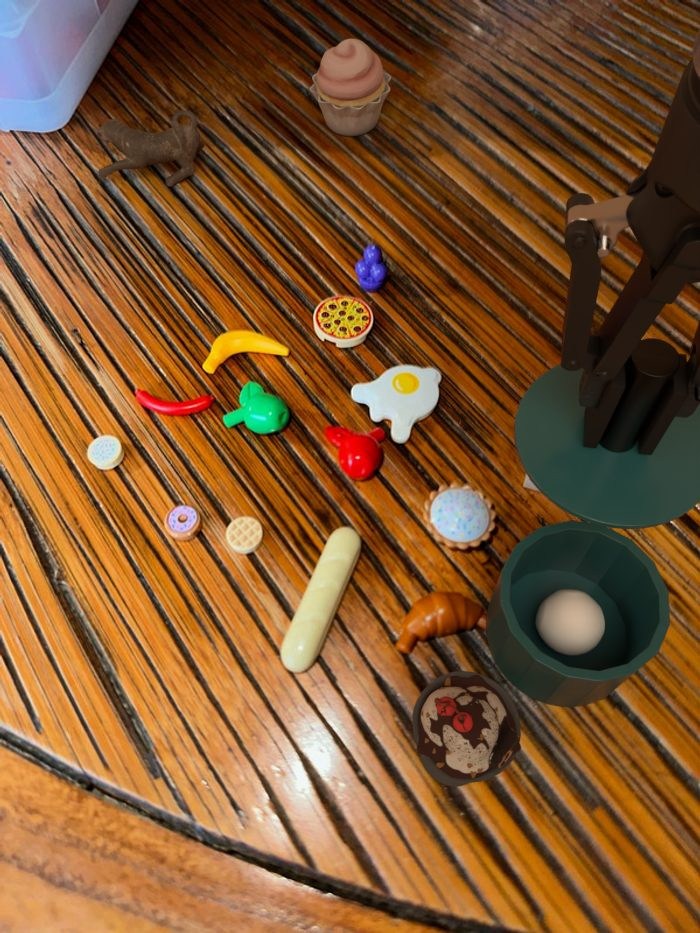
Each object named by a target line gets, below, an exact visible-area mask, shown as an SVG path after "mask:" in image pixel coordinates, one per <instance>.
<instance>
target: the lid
mask: <svg viewBox="0 0 700 933" xmlns="http://www.w3.org/2000/svg"><path fill="white" fill-rule="evenodd" d="M679 354H680V353H679V352H678V349H677V348H675V346H674V345H673V344H671V343H670V342H668V341H666V340H664V339H661V338H655V337H647V338H642V339H641V341H640V342H639V344H638V345H637V346H636V348H635V349H634V351H633V352H632V354H631V355H630V356H629V358H628V359H627V361H626V362H625V389H624V392H623V394H622V396H621V398H620V400H619V402H618V404H617V406H616V408H615V410H614V412H613V414H612V417H611V419H610V421H609V423H608V425H607V427H606V429H605V431H604V433H603V435H602V437H601V439H600V442H599V444H598V446H597V448H588V447H584V415H585V409H586V407H583V406H580V403H579V381H580V379H581V376H582V373H583V371H584V369H583V368H581V369H580V370H577V371H568V370H565V369H563V368H562V367H561V363H559V364H557V365H555V366H553V367H551V368H550V369H548V370H546V371H545V372H544V373H542V374H541V375H540V376H538V377H537V378H536V379H535V380H534V381H533V382H532V383H531V385H529V387H528V388H527V390H526V391H525V392H524V394H523V396H522V397H521V400H520V401H519V404H518V407H517V410H516V413H515V418H514V424H513V425H514V426H513V440H514V446H515V447H514V448H515V451H516V455H517V458H518V460H519V463H520V465H521V467H522V470H523V471H524V473H525V474H526V477H528V479H529V481H530V482H531V483H532V484H533V485H534V487H535V488H536V489H537V491H538V492H540V493H541V494H542V495H543V496H544V497H545V498H546V499H547V500H548V501H549V502H551V503H552V504H553V505H555V506H556V507H557V508H558V509H560V510H562V511H563V512H566V513H567V514H569V515H571V516H572V517H574V518H577V519H580V520H581V521H583V522H588V523H593V524H596V525H599V526H604V527H608V528H610V529H617V530H642V529H648V528H649V529H650V528H654V527H658V526H662V525H666V524H668V523H671V522H673V521H675V520H677V519H679V518H681V517H682V516H684V515H686V514H687V513H688V512H690V511H692V510H693V508H695V507H696V506H697V505H698V504H699V503H700V404H699V405H698V407H697V408H696V410H695V412H694V413H693V414H692V415H690V416H689V417H687V418H683V417H675V418H674V419H673V421H672V423H671V424H670V426H669V428H668V429H667V431H666V432H665V434H664V436H663V437H662V439H661V441H660V442H659V444H658V445H657V447H656V449H655V450H654V452H653V454H652V455H646V454H639V437H640V436H641V434H642V432H643V430H644V429H645V427H646V425H647V423H648V421H649V420H650V418H651V416H652V414H653V413H654V411H655V409H656V407H657V405H658V404H659V402H660V400H661V398H662V397H663V395H664V393H665V391H666V389H667V388H668V386H669V384H670V382H671V381H672V379H673V377H674V375H675V373H676V372H677V370H678V368H679V366H680V356H679Z"/></svg>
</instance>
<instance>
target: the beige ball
mask: <svg viewBox="0 0 700 933" xmlns="http://www.w3.org/2000/svg"><path fill="white" fill-rule="evenodd" d="M536 628H537V630H538V633H539V635H540V637H541V638H542V640H543V641H544V642H545V644H546V645H547V646H548V647H550V648H551V649H552V650H554V651H556V652H558V653H560V654H563V655H568V656H577V655H582V654H585V653H587V652H589V651H590V650H592V649H593V648H594V647H595V646H596V645H597V644H598V643H599V642H600V640H601V638H602V636H603V634H604V630H605V620H604V615H603V612H602V610H601V608H600V606H599V605H598V604H597V602H596V601H595V600H594V599H593V598H591V597H590V596H589V595H588V594H587V593H585V592H583V591H579V590H574V589H562V590H558V591H556V592H554V593H553V594H551V595H550V596H549V597H547V598H546V599H545V600H544V601H543V602H542V604H541V605H540V607H539V609H538V612H537V615H536Z"/></svg>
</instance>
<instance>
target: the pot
mask: <svg viewBox="0 0 700 933" xmlns="http://www.w3.org/2000/svg"><path fill="white" fill-rule="evenodd" d="M562 589H574V590H579V591H583V592H585V593H587V594H588V595H589V596H590V597H591V598H593V599H594V600H595V601H596V602H597V604H598V605H599V606H600V608H601V610H602V612H603V615H604V620H605V630H604V634H603V636H602V638H601V640H600V642H599V643H598V644H597V645H596V646H595V647H594V648H593V649H592V650H590V651H589V652H587V653H585V654H582V655H577V656H568V655H563V654H560V653H558V652H556V651H554V650H552V649H551V648H550V647H548V646H547V645H546V644H545V642H544V641H543V640H542V638H541V637H540V635H539V633H538V630H537V628H536V615H537V612H538V609H539V607H540V605H541V604H542V602H543V601H544V600H545V599H546V598H547V597H549V596H550V595H551V594H553V593H554V592H556V591H558V590H562ZM669 593H670V592H669V589H668V588H667V586H666V583H665V581H664V579H663V576H662V575H661V573H660V571H659V568H658V567H657V565H656V563H655V561H654V560H653V559H652V558H651V556H649V555H648V554H647V553H646V552H645V551H644V550H643V549H642V548H641V547H640V546H639V545H638V544H637V543H636V542H635V541H634V540H633V539H632V538H630V537H628V536H626V535H625V534H622V533H620V532H618V531H616V530H614V529H613V528H610V527H604V526H599V525H596V524H593V523H590V522H586V521H580V520H571V519H569V520H564V521H560V522H556V523H552V524H548V525H544V526H540V527H538V528H536V529H535V530H533V531H532V532H531V533H530V534H528V535H527V536H525V537H524V538H523V539H522V540H520V541H519V542H517V543H516V544H515V545H514V547H513V548H512V550H511V552H510V554H509V555H508V558H507V560H506V562H505V564H504V565H503V567H502V569H501V571H500V575H499V576H498V580H497V581H496V585H495V587H494V590H493V592H492V595H491V598H490V601H489V602H488V605H487V614H486V620H485V634H486V635H485V636H486V642H487V646H488V649H489V652H490V654H491V656H492V659H493V661H494V663H495V664H496V667H497V668H498V669H499V671H500V672H501V673H502V675H503V676H504V677H505V679H506V680H507V681H508V682H509V683H510V684H511V685H512V686H514V688H516V689H517V690H518V691H519V692H521V693H522V694H524V695H526V696H527V697H529V698H531V699H533V700H535V701H537V702H540V703H543V704H545V705H546V704H547V705H550V706H555V707H563V708H576V707H583V706H587V705H591V704H593V703H597V702H600V701H602V700H605V699H606V698H607V697H608V696H610V695H611V694H612V693H613V692H614V691H615V690H616V689H617V688H619V687H620V686H621V685H622V684H624V683H625V682H626V681H627V680H629V679H630V678H631V677H632V676H633V675H634V674H635V673H637V672H638V671H639V670H640V669H641V668H642V667H643V666H645V665H646V664H647V663H649V662H650V661H651V660H652V659H653V658H654V657H655V656H657V655H658V654H659V652H660V650H661V647H662V645H663V643H664V640H665V638H666V635H667V633H668V631H669V628H670V626H671V615H670V613H671V612H670V594H669Z"/></svg>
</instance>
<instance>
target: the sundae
mask: <svg viewBox="0 0 700 933" xmlns="http://www.w3.org/2000/svg"><path fill="white" fill-rule="evenodd" d="M411 718H412V732H413V738H414V740H415V744H416V750H417V753H418V754H419V758H420V761H421V764H422V766H423V768H424V770H425V772H426V773H427V774H428V775H429V777H431V778H432V779H433V780H434V781H435V782H437V783H440V784H441V785H444V786H447V787H463V786H466V785H469V784H472V783H481V782H484V781H487V780H489V779H492V778H494V777H496V776H497V775H500V774H501V773H502V772H504V770H505V769H506V768H508V766H510V764H512V762H513V761H514V759H515V757H516V755H517V753H519V752H520V751H521V749H522V746H521V736H522V730H521V729H522V728H521V720H520V714H519V711H518V709H517V707H516V704H515V702H514V701H513V699H512V696H511V695H510V694H509V693H508V692H507V691H506V690H505V689H504V687H503V686H501V685H500V684H498V682H497V681H495V680H494V679H492V678H490V677H488V676H485V675H483V674H481V673H477V672H474V671H468V670H456V671H450V672H448V673H444V674H442V675H441V676H438V677H435V679H433V680H432V681H431V682H430V683H429V684H427V686H426V687H425V688H424V689H423V690H422V691H421V692H420V694H419V695H418V697H417V699H416V702H415V704H414V706H413V712H412V715H411Z"/></svg>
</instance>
